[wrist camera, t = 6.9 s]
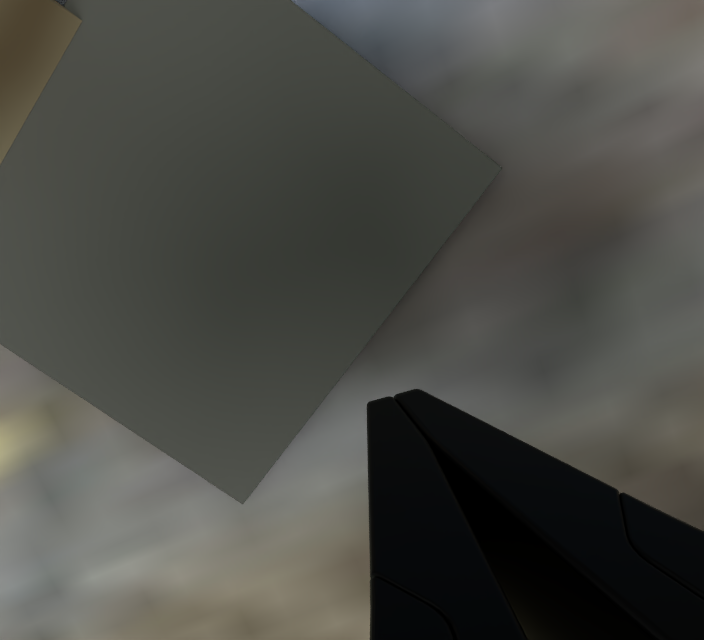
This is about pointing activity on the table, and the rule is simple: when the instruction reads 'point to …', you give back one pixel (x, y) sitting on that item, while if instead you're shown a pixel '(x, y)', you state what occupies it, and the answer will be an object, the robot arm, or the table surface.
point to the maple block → (28, 57)
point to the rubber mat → (218, 221)
